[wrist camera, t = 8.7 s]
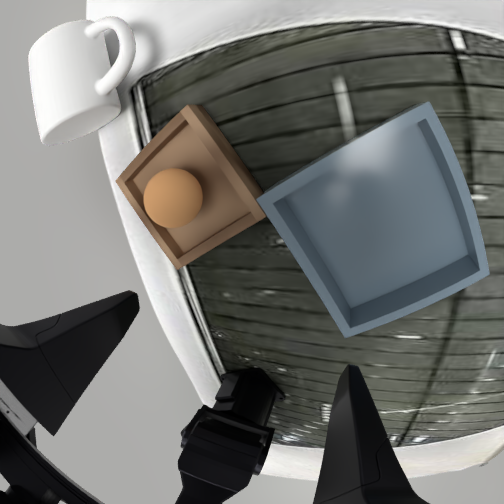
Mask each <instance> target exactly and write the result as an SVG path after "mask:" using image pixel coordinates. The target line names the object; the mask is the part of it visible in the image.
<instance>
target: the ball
mask: <svg viewBox="0 0 504 504" xmlns="http://www.w3.org/2000/svg"><path fill="white" fill-rule="evenodd" d="M202 202H203V193H202V188H201V186H200V184H199V182H198V180H197V179H196V178H195V177H194V176H193V175H192V174H191V173H189V172H187V171H185V170H183V169H179V168H170V169H165V170H163V171H160V172H159V173H157V174H156V175H155V176H153V177H152V178H151V180H150V181H149V182H148V184H147V186H146V188H145V191H144V206H145V210H146V212H147V214H148V215H149V217H150V218H151V219H152V220H153V221H154V222H155V223H157V224H158V225H160V226H163V227H167V228H178V227H182V226H184V225H186V224H188V223H190V222H191V221H192V220H193V219H194V218H195V217H196V216H197V214H198V213H199V211H200V209H201V206H202Z"/></svg>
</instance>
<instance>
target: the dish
mask: <svg viewBox="0 0 504 504" xmlns="http://www.w3.org/2000/svg"><path fill="white" fill-rule="evenodd" d="M256 200H257V202H258V203H259V205H260V206H261V207H262V209H263V210H264V212H265V213H266V215H267V216H268V218H269V219H270V221H271V222H272V224H273V225H274V227H275V228H276V230H277V231H278V233H279V234H280V236H281V237H282V239H283V240H284V242H285V244H286V245H287V247H288V248H289V250H290V251H291V253H292V254H293V256H294V257H295V259H296V260H297V262H298V263H299V265H300V267H301V268H302V270H303V271H304V273H305V274H306V276H307V278H308V279H309V281H310V282H311V284H312V285H313V287H314V289H315V290H316V292H317V293H318V295H319V297H320V298H321V300H322V301H323V303H324V305H325V306H326V308H327V309H328V311H329V313H330V314H331V316H332V317H333V319H334V321H335V322H336V324H337V326H338V327H339V329H340V331H341V332H342V334H343V335H344V337H345V338H347V337H350V336H353V335H356V334H359V333H361V332H364V331H367V330H370V329H372V328H375V327H378V326H380V325H383V324H386V323H388V322H391V321H393V320H396V319H398V318H400V317H403V316H405V315H408V314H410V313H412V312H415V311H417V310H419V309H422V308H424V307H426V306H428V305H430V304H433V303H435V302H437V301H439V300H441V299H443V298H445V297H447V296H449V295H451V294H453V293H455V292H457V291H459V290H461V289H463V288H465V287H467V286H469V285H471V284H473V283H475V282H477V281H478V280H480V279H482V278H484V277H486V276H487V275H489V268H488V262H487V257H486V252H485V247H484V242H483V238H482V234H481V230H480V226H479V222H478V218H477V215H476V211H475V208H474V205H473V201H472V198H471V195H470V192H469V189H468V186H467V183H466V181H465V178H464V175H463V173H462V170H461V167H460V165H459V162H458V160H457V158H456V155H455V153H454V150H453V148H452V146H451V144H450V142H449V139H448V137H447V135H446V133H445V131H444V129H443V127H442V125H441V123H440V121H439V119H438V117H437V115H436V113H435V111H434V110H433V108H432V106H431V104H430V102H429V101H428V102H424V103H419V104H415V105H413V106H411V107H409V108H407V109H406V110H404V111H402V112H400V113H398V114H396V115H394V116H392V117H390V118H388V119H387V120H385V121H383V122H381V123H379V124H377V125H375V126H374V127H372V128H370V129H368V130H366V131H364V132H363V133H361V134H359V135H357V136H355V137H354V138H352V139H350V140H348V141H347V142H345V143H343V144H341V145H339V146H338V147H336V148H334V149H333V150H331V151H329V152H327V153H326V154H324V155H322V156H320V157H319V158H317V159H315V160H314V161H312V162H310V163H309V164H307V165H305V166H304V167H302V168H300V169H299V170H297V171H295V172H294V173H292V174H290V175H289V176H287V177H285V178H284V179H282V180H281V181H279V182H277V183H276V184H274V185H272V186H271V187H269V188H268V189H267V190H266V191H265V192H263V193H262V194H261V195H260V196H259V197H258V198H257V199H256Z"/></svg>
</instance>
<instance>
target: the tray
mask: <svg viewBox="0 0 504 504" xmlns="http://www.w3.org/2000/svg"><path fill="white" fill-rule="evenodd" d="M170 168H179V169H183V170H185V171H187V172H189V173H191V174H192V175H193V176H194V177H195V178H196V179H197V180H198V182H199V184H200V186H201V188H202V193H203V202H202V206H201V209H200V211H199V213H198V214H197V216H196V217H195V218H194V219H193V220H192V221H191V222H190V223H188V224H186V225H184V226H182V227H178V228H167V227H163V226H160V225H158V224H157V223H155V222H154V221H153V220H152V219H151V218H150V217H149V215H148V214H147V212H146V210H145V206H144V191H145V188H146V186H147V184H148V182H149V181H150V180H151V178H152V177H153V176H155V175H156V174H157V173H159V172H160V171H163V170H165V169H170ZM116 183H117V184H118V186H119V187H120V189H121V190H122V192H123V194H124V195H125V197H126V198H127V200H128V201H129V203H130V204H131V206H132V207H133V209H134V210H135V212H136V213H137V215H138V216H139V217H140V219H141V220H142V222H143V223H144V225H145V226H146V228H147V229H148V230H149V232H150V233H151V235H152V236H153V238H154V239H155V240H156V242H157V243H158V245H159V246H160V247H161V249H162V250H163V251H164V253H165V254H166V256H167V257H168V258H169V260H170V261H171V262H172V264H173V265H174V266H175V268H176V269H177V270H178V269H180V268H181V267H183V266H185V265H186V264H188V263H190V262H191V261H193V260H195V259H196V258H198V257H200V256H201V255H203V254H204V253H206V252H208V251H209V250H211V249H213V248H214V247H216V246H218V245H219V244H221V243H223V242H224V241H226V240H228V239H229V238H231V237H233V236H235V235H236V234H238V233H240V232H241V231H243V230H245V229H246V228H248V227H250V226H251V225H253V224H255V223H257V222H258V221H260V220H262V219H263V218H265V217H267V215H266V213H265V212H264V210H263V209H262V207H261V206H260V205H259V203H258V202H257V200H256V199H257V198H258V197H259V196H260V195H261V194H262V193H263V191H262V189H261V188H260V186H259V185H258V183H257V182H256V180H255V179H254V177H253V176H252V175H251V173H250V172H249V170H248V169H247V167H246V166H245V164H244V163H243V162H242V160H241V159H240V157H239V156H238V154H237V153H236V152H235V150H234V149H233V147H232V146H231V145H230V143H229V142H228V140H227V139H226V138H225V136H224V135H223V133H222V132H221V131H220V129H219V128H218V127H217V125H216V124H215V122H214V121H213V120H212V118H211V117H210V116H209V114H208V113H207V112H206V110H205V109H204V108H203V106H202V105H187V106H186V107H184V108H183V109H182V110H181V111H180V112H179V113H178V114H177V115H176V116H175V117H174V118H173V119H172V120H171V121H170V122H169V123H168V124H167V125H166V126H165V127H164V128H163V129H162V130H161V131H160V132H159V133H158V134H157V135H156V136H155V137H154V138H153V139H152V140H151V141H150V142H149V143H148V144H147V145H146V147H145V148H144V149H143V150H142V151H141V152H140V153H139V154H138V155H137V156H136V158H135V159H134V160H133V161H132V162H131V163H130V164H129V166H128V167H127V168H126V169H125V170H124V171H123V173H122V174H121V175H120V176H119V177H118V179H117V180H116Z"/></svg>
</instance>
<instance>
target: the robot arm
mask: <svg viewBox="0 0 504 504" xmlns="http://www.w3.org/2000/svg"><path fill="white" fill-rule="evenodd" d="M139 309H140V307H139V300H138V295H137V293H135V292H132V291H130V290H128V291H125V292H122V293H119V294H116V295H113V296H110V297H108V298H105V299H102V300H99V301H96V302H93V303H90V304H87V305H84V306H81V307H78V308H75V309H73V310H70V311H67V312H64V313H62V314H58V315H55V316H52V317H49V318H46V319H42V320H39V321H35V322H31V323H27V324H23V325H18V326H5V325H2V324H0V473H1V474H2V475H3V477H4V478H5V479H6V480H7V482H8V483H9V484H10V486H9V488H8V489H7V490H6V492H3V491H1V490H0V504H58V503H59V501H60V500H61V501H63V502H65V503H66V504H104V503H103V502H101V501H100V500H98V499H97V498H96V497H94V496H93V495H91V494H90V493H88V492H87V491H86V490H84V489H83V488H81V487H80V486H79V485H78V484H77V483H75V482H74V481H73V480H71V479H70V478H69V477H68V476H66V475H65V474H64V473H63V472H62V471H61V470H59V469H58V468H57V467H56V466H55V465H54V464H53V463H52V462H50V461H49V460H48V459H47V458H46V457H45V456H44V455H43V454H42V453H41V452H40V451H39V450H38V449H37V446H36V437H35V428H34V426H35V424H36V423H37V422H39V423H40V424H41V425H42V426H43V427H44V428H45V429H46V430H47V431H48V432H49V433H50V434H51V435H53V436H54V435H55V434H56V433H57V431H58V430H59V428H60V427H61V425H62V423H63V422H64V420H65V419H66V417H67V416H68V414H69V413H70V411H71V410H72V408H73V407H74V406H75V404H76V402H77V401H78V399H79V398H80V397H81V395H82V394H83V392H84V390H85V389H86V388H87V387H88V385H89V384H90V382H91V381H92V380H93V378H94V377H95V375H96V374H97V373H98V371H99V370H100V368H101V367H102V366H103V364H104V363H105V362H106V360H107V359H108V357H109V356H110V355H111V353H112V352H113V351H114V349H115V348H116V347H117V345H118V344H119V343H120V341H121V340H122V338H123V337H124V335H125V334H126V332H127V330H128V329H129V327H130V325H131V324H132V322H133V321H134V318H135V317H136V316H137V314H138V312H139ZM220 379H221V380H222V381H223V383H222V385H221V387H220V389H219V391H218V393H217V395H216V397H215V400H217V401H216V403H215V405H214V407H213V408H210V407H208V406H207V405H203V406H202V408H201V409H199V410H198V411H197V413H196V415H195V416H194V418H193V419H192V420H191V422H190V423H189V424H188V425H187V426H186V427H185V428H184V429H183V430H182V431H181V436H182V442H181V448H183V451H182V453H181V455H180V457H179V460H178V469H179V471H180V474H181V479H182V484H183V489H182V491H181V493H180V495H179V497H178V499H177V501H176V503H175V504H222V503H223V502H224V501H225V500H227V499H229V498H230V497H232V496H233V495H235V494H236V493H238V492H239V491H241V490H242V489H244V488H245V487H246V486H248V484H249V482H250V479H251V477H252V474H254V475H259V474H260V472H261V470H262V467H263V465H264V463H265V460H266V457H267V454H268V451H269V448H270V445H271V441H272V438H273V434H274V431H275V428H269V427H266V425H267V422H268V419H269V416H270V414H271V411H272V408H273V405H274V402H276V401H283V400H285V397H286V396H285V395H284V394H283V393H282V392H281V391H280V390H279V389H278V387H277V386H276V385H275V384H274V383H273V382H272V381H271V380H270V379H269V378H268V377H267V376H266V374H265V373H264V372H263V371H262V370H261V369H259V368H253V369H248V370H244V371H239V372H234V373H228V374H223V375H221V377H220ZM387 437H388V436H387V433H386V431H385V428H384V426H383V423H382V421H381V418H380V416H379V413H378V411H377V409H376V406H375V404H374V401H373V399H372V397H371V394H370V392H369V390H368V387H367V385H366V383H365V380H364V378H363V376H362V373H361V371H360V369H359V367H358V366H355V365H351V364H349V365H347V367H346V368H345V370H344V371H343V373H342V374H341V376H340V378H339V381H338V385H337V390H336V394H335V398H334V402H333V405H332V409H331V413H330V419H329V425H328V432H327V438H326V444H325V449H324V455H323V460H322V465H321V470H320V475H319V480H318V485H317V489H316V493H315V497H314V502H313V504H429V503H427V502H426V501H424V500H423V499H421V498H420V497H419V496H418V495H417V494H416V493H415V492H414V491H413V489H412V488H411V485H410V483H409V481H408V479H407V477H406V475H405V474H404V472H403V470H402V468H401V466H400V464H399V462H398V460H397V458H396V456H395V453H394V451H393V448H392V446H391V443H390V441H389V438H387Z"/></svg>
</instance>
